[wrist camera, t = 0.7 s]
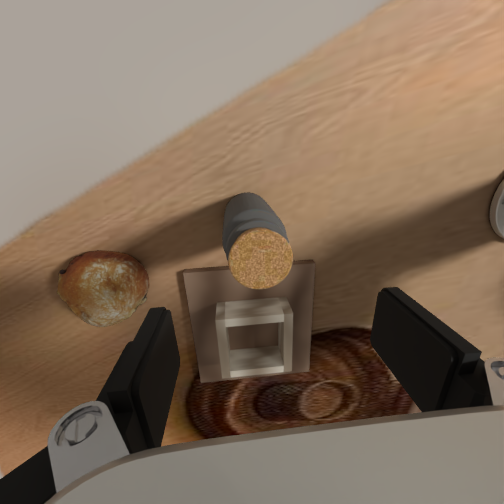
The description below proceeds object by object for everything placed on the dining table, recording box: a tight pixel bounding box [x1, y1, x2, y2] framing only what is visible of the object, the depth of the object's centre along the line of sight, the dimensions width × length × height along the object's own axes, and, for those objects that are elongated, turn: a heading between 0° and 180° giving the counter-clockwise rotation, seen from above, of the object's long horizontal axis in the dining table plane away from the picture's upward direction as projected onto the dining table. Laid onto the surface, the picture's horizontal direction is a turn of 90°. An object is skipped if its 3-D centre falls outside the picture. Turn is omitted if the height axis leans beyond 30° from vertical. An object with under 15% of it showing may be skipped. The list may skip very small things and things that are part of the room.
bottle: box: [222, 193, 293, 289], centre depth 24 cm, size 6×6×15 cm
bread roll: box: [57, 250, 149, 327], centre depth 31 cm, size 10×10×8 cm
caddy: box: [183, 260, 315, 383], centre depth 35 cm, size 18×20×5 cm
